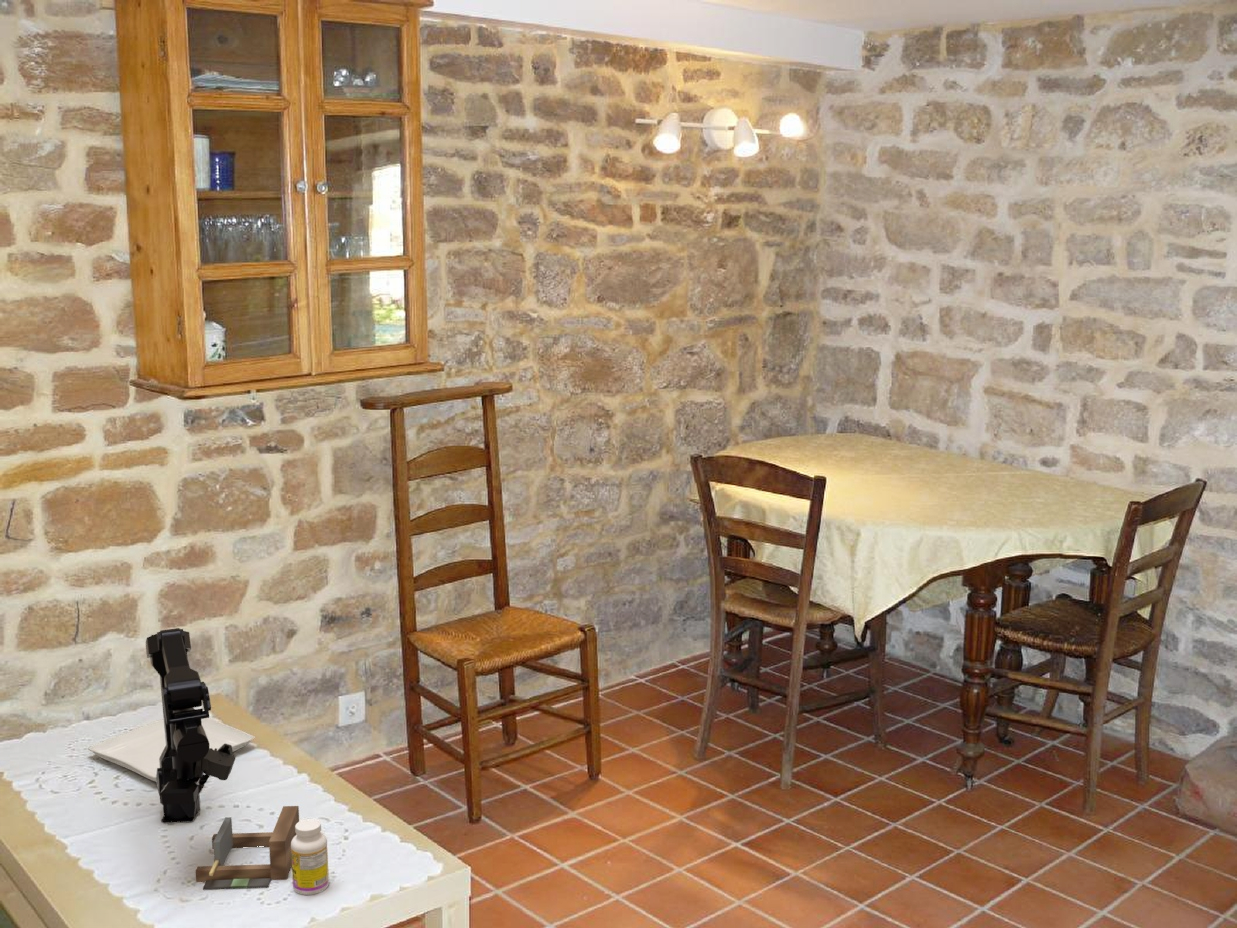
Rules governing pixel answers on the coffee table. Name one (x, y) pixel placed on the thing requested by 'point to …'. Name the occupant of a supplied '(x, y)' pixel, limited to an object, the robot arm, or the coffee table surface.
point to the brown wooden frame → (256, 873)
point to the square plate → (161, 745)
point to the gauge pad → (222, 844)
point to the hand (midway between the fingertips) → (191, 816)
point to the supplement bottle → (309, 858)
